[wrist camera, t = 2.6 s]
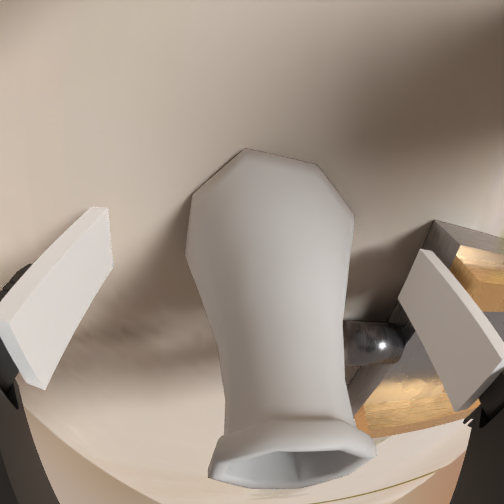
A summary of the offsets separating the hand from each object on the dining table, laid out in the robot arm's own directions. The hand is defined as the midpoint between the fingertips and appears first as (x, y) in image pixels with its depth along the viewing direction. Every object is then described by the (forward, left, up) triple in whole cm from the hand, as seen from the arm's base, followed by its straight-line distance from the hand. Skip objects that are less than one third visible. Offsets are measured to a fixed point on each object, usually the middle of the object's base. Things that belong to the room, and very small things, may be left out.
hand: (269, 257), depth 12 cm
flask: (0, 0, -2) cm, 2 cm away
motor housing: (+5, +12, -2) cm, 13 cm away
